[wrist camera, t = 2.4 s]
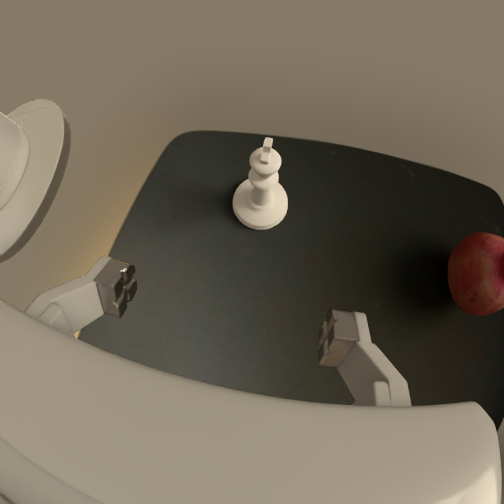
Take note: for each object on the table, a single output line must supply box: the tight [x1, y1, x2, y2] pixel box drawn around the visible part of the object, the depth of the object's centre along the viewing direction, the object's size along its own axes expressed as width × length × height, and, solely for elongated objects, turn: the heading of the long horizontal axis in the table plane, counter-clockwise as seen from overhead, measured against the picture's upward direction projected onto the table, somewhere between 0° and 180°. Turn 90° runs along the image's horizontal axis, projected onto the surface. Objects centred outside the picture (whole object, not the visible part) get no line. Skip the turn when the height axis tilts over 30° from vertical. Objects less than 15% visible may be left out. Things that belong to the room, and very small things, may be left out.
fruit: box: [448, 232, 504, 316], centre depth 19 cm, size 8×8×10 cm
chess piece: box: [233, 137, 288, 230], centre depth 20 cm, size 5×5×10 cm
